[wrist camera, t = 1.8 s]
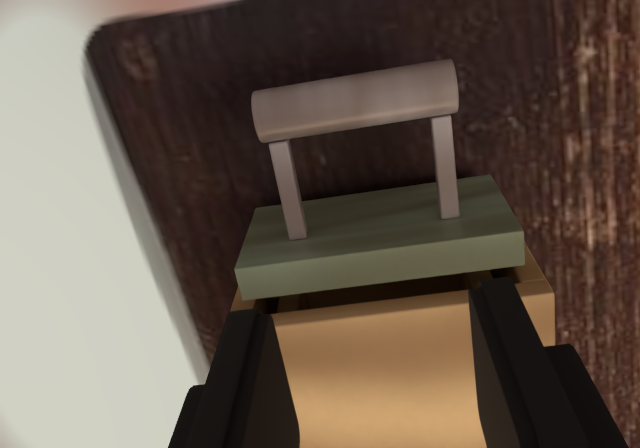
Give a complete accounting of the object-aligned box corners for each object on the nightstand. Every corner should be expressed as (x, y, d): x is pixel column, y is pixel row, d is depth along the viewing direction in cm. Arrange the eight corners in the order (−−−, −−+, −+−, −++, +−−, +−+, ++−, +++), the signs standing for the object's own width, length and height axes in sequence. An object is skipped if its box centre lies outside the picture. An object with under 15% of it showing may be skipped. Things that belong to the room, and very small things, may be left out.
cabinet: (252, 238, 25) (222, 332, 19) (504, 203, 24) (555, 292, 18) (308, 464, 30) (297, 594, 24) (516, 444, 29) (559, 575, 23)
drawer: (224, 78, 21) (192, 114, 17) (481, 34, 20) (517, 61, 16) (308, 433, 28) (301, 524, 24) (505, 414, 27) (534, 504, 23)
